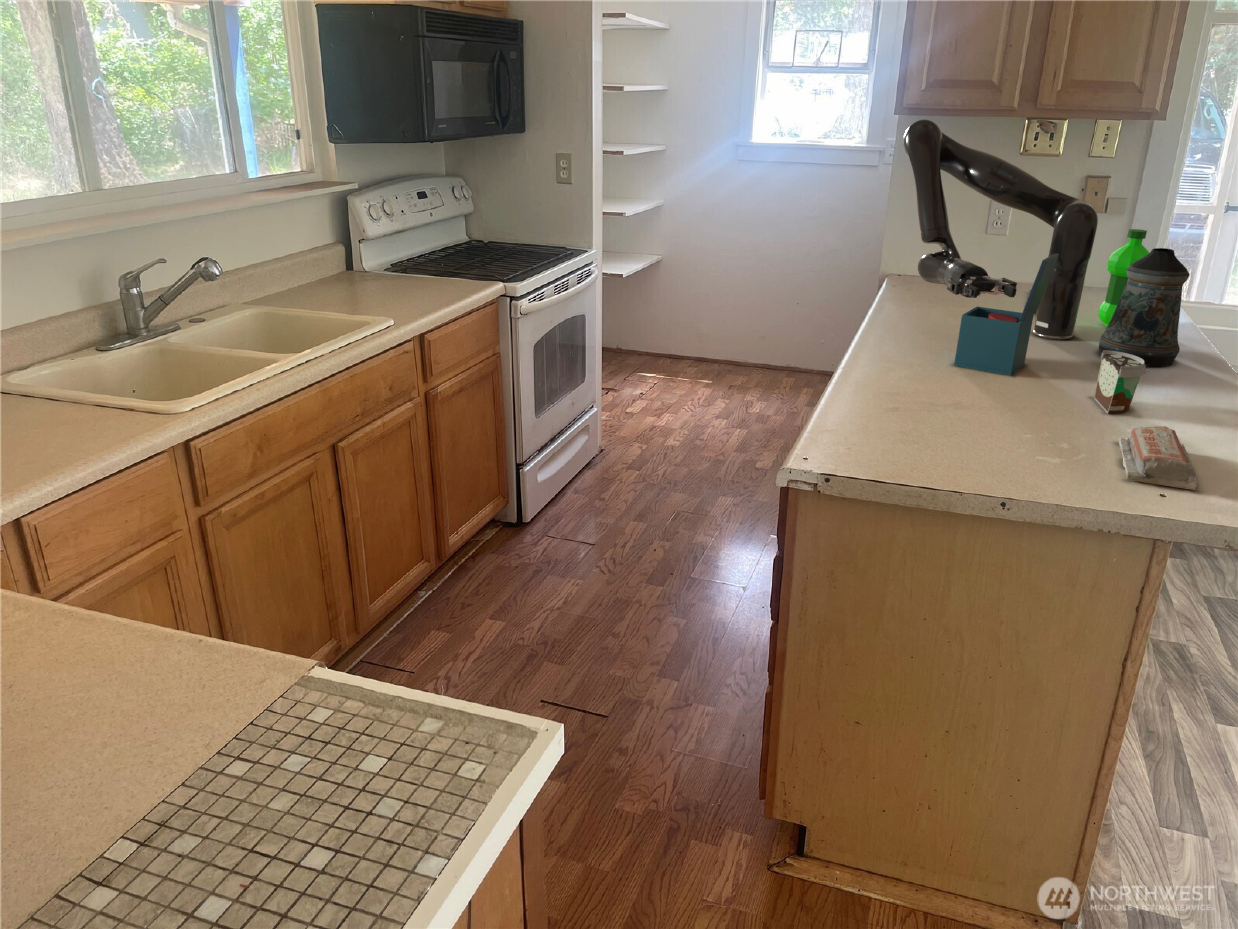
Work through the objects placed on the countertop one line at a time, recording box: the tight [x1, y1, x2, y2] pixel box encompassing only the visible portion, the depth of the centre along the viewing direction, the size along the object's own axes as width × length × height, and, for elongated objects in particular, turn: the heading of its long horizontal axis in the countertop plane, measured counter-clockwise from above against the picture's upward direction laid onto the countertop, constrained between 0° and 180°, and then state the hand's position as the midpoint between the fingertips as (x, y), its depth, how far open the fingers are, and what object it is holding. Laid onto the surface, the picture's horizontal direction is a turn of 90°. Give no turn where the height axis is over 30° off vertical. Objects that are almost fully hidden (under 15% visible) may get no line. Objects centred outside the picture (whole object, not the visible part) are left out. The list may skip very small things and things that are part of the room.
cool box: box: [953, 306, 1035, 377], centre depth 198 cm, size 13×11×12 cm
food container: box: [1093, 350, 1146, 415], centre depth 172 cm, size 12×6×10 cm, turn 168°
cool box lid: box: [1019, 253, 1059, 322], centre depth 188 cm, size 14×11×1 cm
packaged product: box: [1118, 425, 1199, 491], centre depth 146 cm, size 18×5×10 cm
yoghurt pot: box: [988, 313, 1018, 322], centre depth 198 cm, size 6×6×10 cm
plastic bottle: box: [1098, 228, 1150, 327], centre depth 227 cm, size 10×10×25 cm
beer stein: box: [1098, 247, 1190, 368], centre depth 201 cm, size 16×19×25 cm
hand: (995, 293), depth 194 cm, fingers open, 8 cm apart
